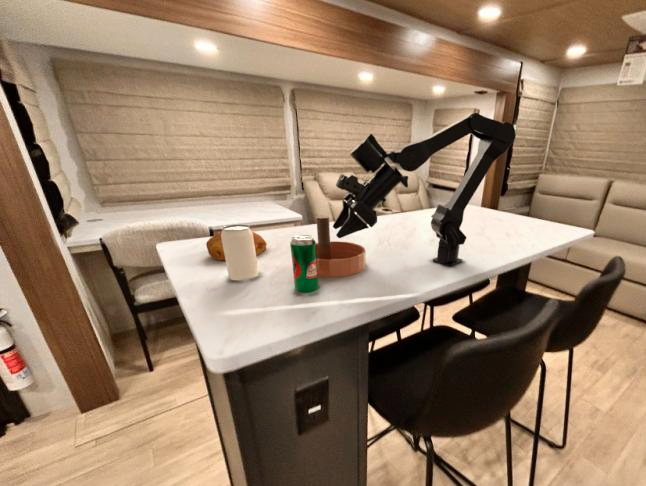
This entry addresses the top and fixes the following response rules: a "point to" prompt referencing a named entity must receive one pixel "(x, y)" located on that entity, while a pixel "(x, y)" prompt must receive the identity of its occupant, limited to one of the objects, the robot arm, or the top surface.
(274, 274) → the top surface
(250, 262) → the can
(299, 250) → the soda can
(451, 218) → the robot arm
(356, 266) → the bowl
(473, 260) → the top surface
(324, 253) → the brown tall block
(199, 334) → the top surface
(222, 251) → the croissant
